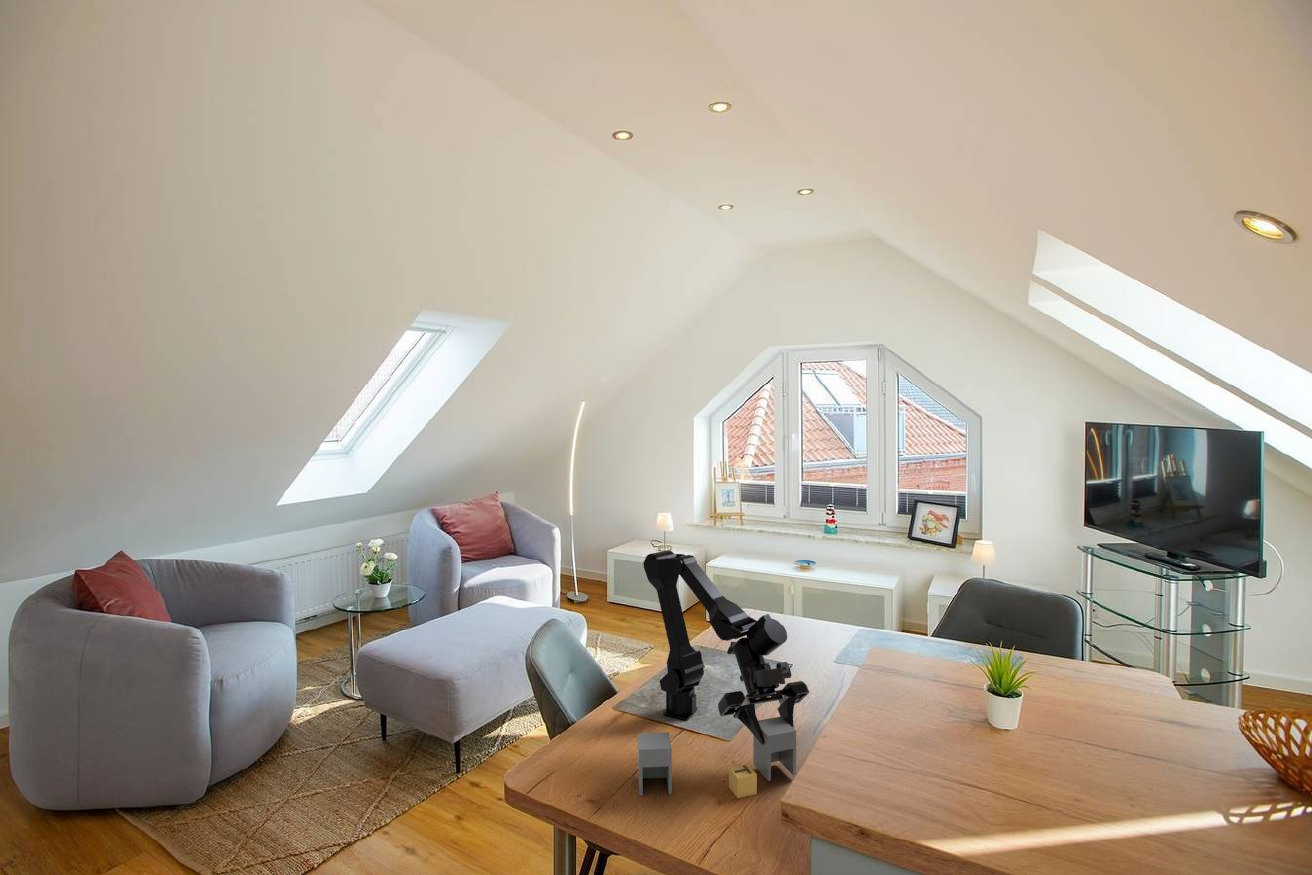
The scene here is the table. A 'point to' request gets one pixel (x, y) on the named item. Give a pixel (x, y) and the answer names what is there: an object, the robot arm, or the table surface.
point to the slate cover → (654, 758)
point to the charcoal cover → (775, 746)
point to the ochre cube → (742, 780)
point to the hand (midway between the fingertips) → (777, 740)
